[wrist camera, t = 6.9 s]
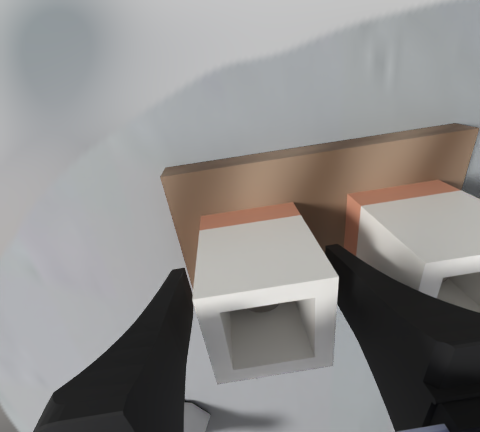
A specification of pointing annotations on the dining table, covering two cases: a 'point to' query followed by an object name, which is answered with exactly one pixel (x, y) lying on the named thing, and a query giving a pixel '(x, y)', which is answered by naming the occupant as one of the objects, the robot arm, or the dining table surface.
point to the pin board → (313, 180)
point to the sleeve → (264, 294)
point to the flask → (195, 418)
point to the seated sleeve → (420, 238)
